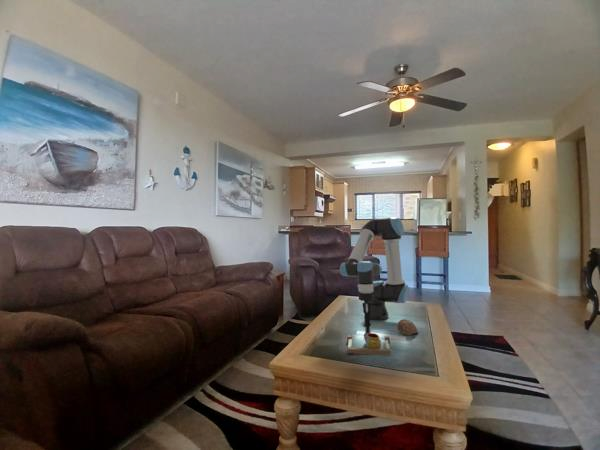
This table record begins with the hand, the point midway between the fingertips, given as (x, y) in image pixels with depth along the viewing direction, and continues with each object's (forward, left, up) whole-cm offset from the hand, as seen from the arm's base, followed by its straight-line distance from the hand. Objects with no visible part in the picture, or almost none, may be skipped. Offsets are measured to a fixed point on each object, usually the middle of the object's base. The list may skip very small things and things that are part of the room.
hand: (368, 338), depth 152 cm
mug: (+6, +1, -2) cm, 7 cm away
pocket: (+7, 0, -2) cm, 7 cm away
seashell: (-16, +21, -2) cm, 27 cm away
